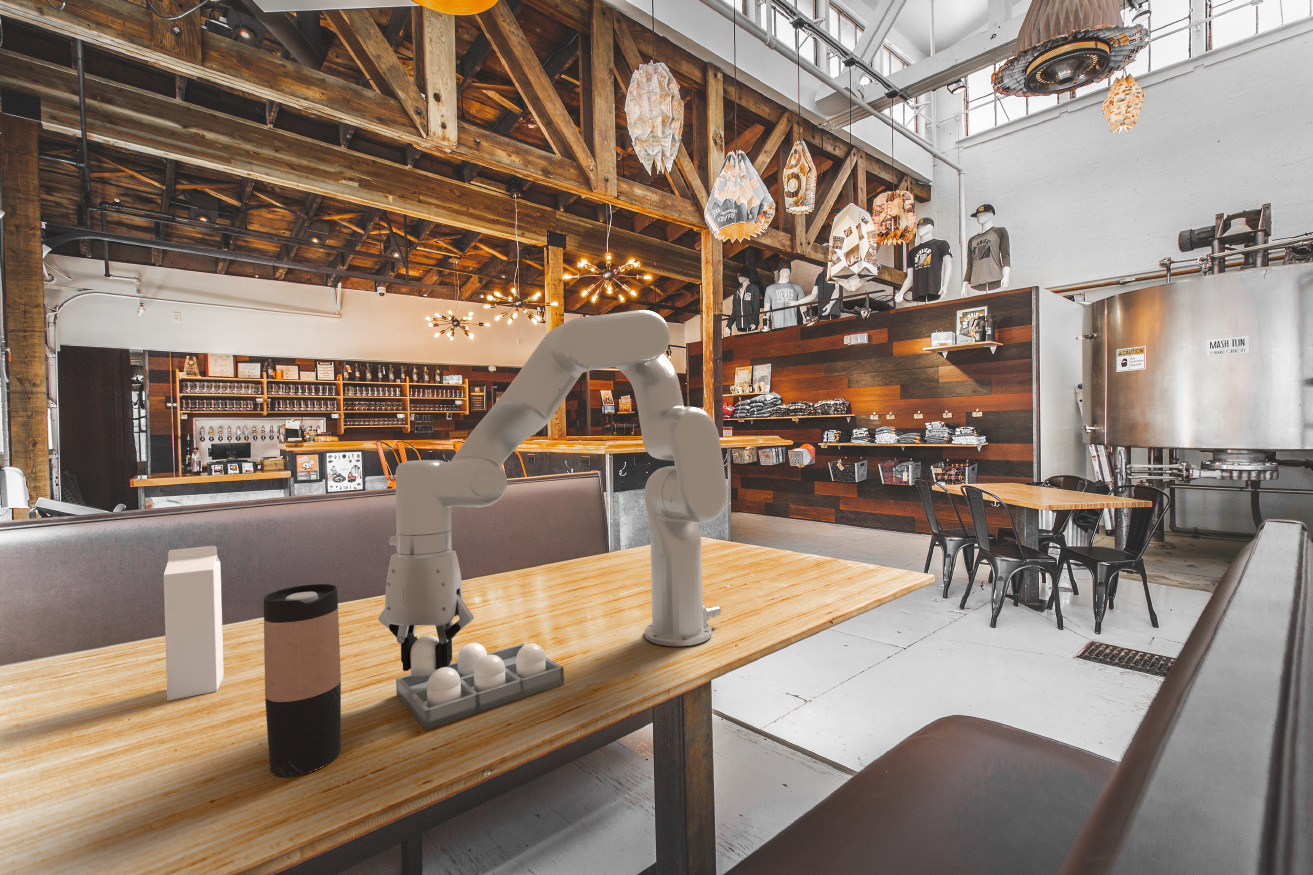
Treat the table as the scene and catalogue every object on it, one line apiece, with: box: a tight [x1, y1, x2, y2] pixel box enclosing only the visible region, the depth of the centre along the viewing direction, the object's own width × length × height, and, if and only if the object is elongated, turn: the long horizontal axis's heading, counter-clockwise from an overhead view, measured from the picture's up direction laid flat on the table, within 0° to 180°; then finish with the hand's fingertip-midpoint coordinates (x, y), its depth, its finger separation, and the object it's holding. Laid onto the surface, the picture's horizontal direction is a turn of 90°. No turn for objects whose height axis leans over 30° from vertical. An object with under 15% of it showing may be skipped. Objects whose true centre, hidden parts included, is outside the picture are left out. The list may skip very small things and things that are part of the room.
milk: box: [163, 545, 225, 701], centre depth 88 cm, size 6×6×22 cm
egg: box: [410, 634, 439, 676], centre depth 84 cm, size 4×4×5 cm
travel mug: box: [263, 583, 342, 778], centre depth 68 cm, size 8×8×20 cm
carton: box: [395, 642, 565, 731], centre depth 85 cm, size 20×14×6 cm
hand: (426, 666), depth 84 cm, fingers closed on egg, 4 cm apart
